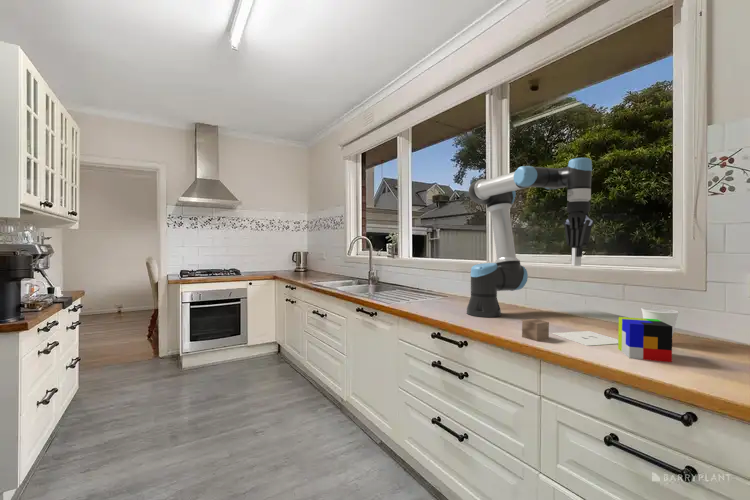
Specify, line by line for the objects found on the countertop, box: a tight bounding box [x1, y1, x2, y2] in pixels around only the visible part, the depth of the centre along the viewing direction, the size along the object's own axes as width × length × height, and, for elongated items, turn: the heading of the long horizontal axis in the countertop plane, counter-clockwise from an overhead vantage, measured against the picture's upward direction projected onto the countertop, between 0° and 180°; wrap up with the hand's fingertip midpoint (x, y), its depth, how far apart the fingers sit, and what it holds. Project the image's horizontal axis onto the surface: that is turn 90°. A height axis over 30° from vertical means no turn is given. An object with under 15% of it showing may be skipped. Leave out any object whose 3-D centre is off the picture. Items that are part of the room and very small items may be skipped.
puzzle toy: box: [617, 316, 673, 363], centre depth 106 cm, size 10×10×10 cm
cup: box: [640, 306, 680, 338], centre depth 118 cm, size 10×10×11 cm
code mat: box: [551, 330, 618, 347], centre depth 124 cm, size 16×16×1 cm
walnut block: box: [521, 318, 550, 342], centre depth 124 cm, size 6×6×6 cm
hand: (576, 265), depth 133 cm, fingers closed
